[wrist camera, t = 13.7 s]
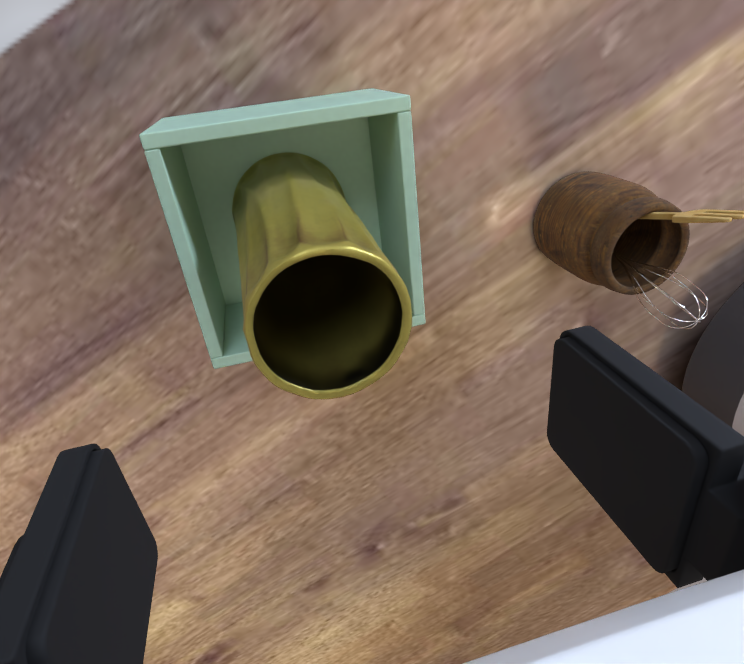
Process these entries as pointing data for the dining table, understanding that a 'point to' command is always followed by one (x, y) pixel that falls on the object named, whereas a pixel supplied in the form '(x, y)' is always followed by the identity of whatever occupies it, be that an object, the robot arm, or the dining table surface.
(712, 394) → the planter
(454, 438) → the dining table surface
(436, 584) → the dining table surface
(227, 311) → the bin
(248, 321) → the vase
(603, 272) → the utensil holder
